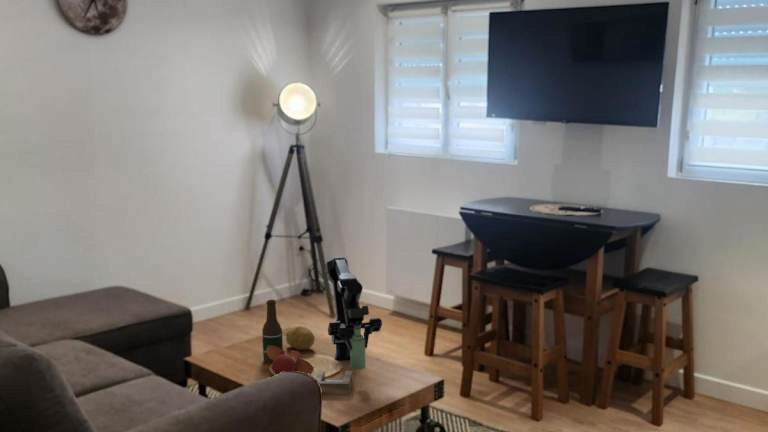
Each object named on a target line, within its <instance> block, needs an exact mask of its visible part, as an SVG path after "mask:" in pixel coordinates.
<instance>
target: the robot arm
mask: <svg viewBox="0 0 768 432" xmlns="http://www.w3.org/2000/svg"><path fill="white" fill-rule="evenodd" d="M325 273H326V274H327V279H328V281H329V282H330V283H331V284H332V288H333V297H334V299H333V300H334V305H335V306H334V307H335V315H336V320H334V321H329V323H328V325H327V333H328V336H330V337H331V342H332V345H335V354H334V360H336V361H341V360H343V361H345V360H346V361H349V360H350V361H351V357H350V350H351V343H350V339H351V338H353V335H354V325H356V324H359V325H361V329H363V330H364V331H363V338H365V349H368V343H369V336H370V335H372V334H373V333H374V332H375V333H377V332H380V331H381V329H382V327H383V321H382V319H381V318H380V317H374V318H370V319H369V321H368V322H363V321H364V318H365V316H368V315H369V314H370V313H369V312H370V311H369V306H368V305H362V307H360V299H361V295H362V292H363V285H362V284H361V282H360V281H359V280H358V279H357V277H356V275H354V274H352V273H351V272H350V269H349V263H348V260H347V258H346V257H345V256H338V257H337V256H336V257H333V258H332V259H331V260H329V261H327V262H326V263H325Z"/></svg>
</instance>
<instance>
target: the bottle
mask: <svg viewBox="0 0 768 432" xmlns="http://www.w3.org/2000/svg"><path fill="white" fill-rule="evenodd" d="M350 343H351V350H350V357H351V360H350V369H352V370H363V369H366V348H365V338H364V334H362V328H361V325H359V324H356V325H354V335H353V338H351V339H350Z"/></svg>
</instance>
